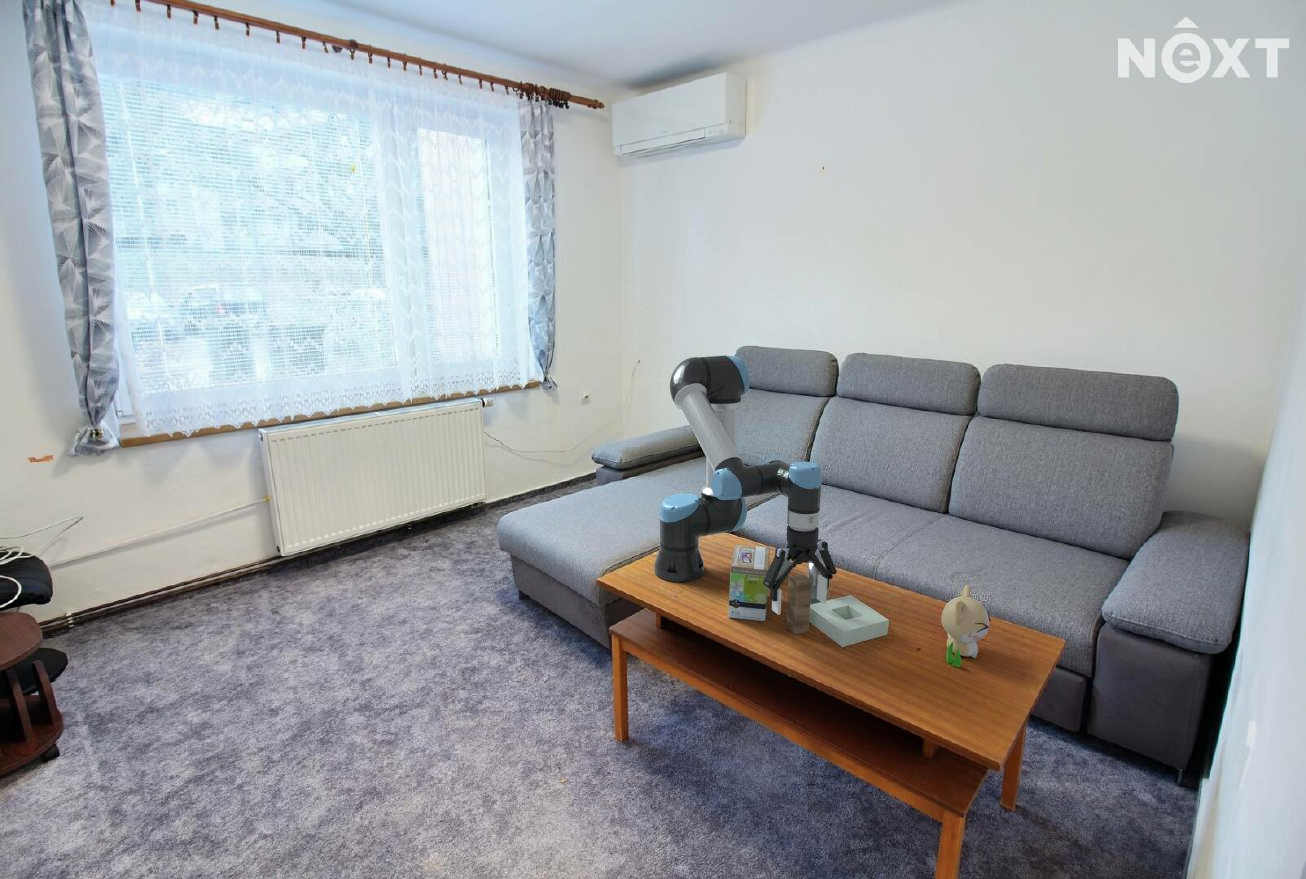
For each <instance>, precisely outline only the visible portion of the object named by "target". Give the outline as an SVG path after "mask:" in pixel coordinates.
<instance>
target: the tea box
mask: <svg viewBox="0 0 1306 879" xmlns="http://www.w3.org/2000/svg"><path fill="white" fill-rule="evenodd" d="M770 551H771V550H770V547H768V546H767V547H766V546H752V545H744V544H743V545H742V544H741V545H740V544H734V547H733V552H732V558H731V564H730V573H729V574H730V575H729V576H730V577H729V598H728V618H731V619H739V620H749V621H758V622H759V621H761V622H765V621H766V617H767V605H768V593H769V588H768V587H766V586H765V585H763V581H764V579H765V577H766V575H767V572H768V570H769V568H770V556H771V555H770Z"/></svg>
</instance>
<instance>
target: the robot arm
mask: <svg viewBox="0 0 1306 879" xmlns="http://www.w3.org/2000/svg"><path fill="white" fill-rule="evenodd" d="M748 369H749V368H748V367H747V365H746V364H745V362H744V360H743V359H742V358H740V357H738V356H736V355H712V356H710V355H709V356H701V357H700V356H694V357H689V358H686V359H684V360H683V361H681V362H680V363H679V364H677V366H676V367H675V368H674V370H673V371H672V374H671V376H670V381H669V392H670V396H671V399H672V402H673V403H674V405H675V407H676V408H677V409H678V410H682V412H683V414H684V417H685V419H686V420H687V422H688V424H689V426H690V428H691V430H692V432H693V434H694V436H695V438H696V439H697V441H698V443H699V445H700V448H701V449H702V451H703V453H704V456H705V457H706V459H705V460H706V461H705V462H706V463H705V464H706V466H705V468H706V470H705V471H706V472H705V475H706V476H705V477H706V478H705V483H706V484H705V485H704V486H703V487H702V488H701V489H700V492H701V493H700V494H701V495H700V497H698V495H696V494H694V493H685V492H683V493H682V492H681V493H676V494H672V495H669V496H668V497H665V498H664V499H663V501H661V504H660V507H659V515H658V516H659V549H658V553H657V554H656V557H655V558H656V559H655V561H654V565H653V567H654V574H655V575H656V576H657V577H658V578H660V579H662V580H666V581H669V582H678V583H681V582H684V583H685V582H691V581H694V580H697V579H700V578H701V577H702V576H703V575H704V572H705V564H704V561H703V557H702V553H701V551H700V549H699V548H700V546H699V539H700V538H701V537H706V536H712V535H719V534H728V533H731V532H735V531H738V530H740V529H741V528H742V527H743V526H744V524H745V523H746V520H747V515H748V505H747V504H746V502H747V501H746V499H745V498H749V497H757V496H763V495H769V494H781V495H782V496H784V497H787V513H786V515H787V516H786V525H787V526H786V542H787V545H786V547H785V548H781V547H780V546H777V547H776V548H775V551H774V557H773V559H772V561H771V564H770V565H769V570H768V572H767V575H766V577H765V579H764V581H763V585H765V586H766V587H768V590H769V599H770V601H771V611H772V612H774V613H776V614H777V615H778V616H779V615H781V613H782V612H781V611H782V589H781V588H780V587H782V584H783V583H784V581H785V580H786V579H787V577H788V576H789V574H790V573H791V571H793V568H796V567H797V566H798V565H801V564H804V563H805V564H808V562H809V561H811V562H812V563H813V565H814V566H815V567H816V568H817V569H818V571H819V572H820V573H821V574H822V576H821V575H818V588H817V599H818V600H819V601H820V602H822V603H823V604H825V603H826V596H827V589H828V588H829V589H830V581H829V579H830V580H832V579H833V578H834V576H833V575H837V573H838V571H837V569H836V566H835V564H834V561H833V559H832V556H831V554H830V551H829V543H828V542H827V541H825V540H823V539H821V538H819V532H820V530H819V526H820V511H821V508H820V507H821V495H822V494H821V493H822V486H823V485H822V484H823V481H822V468H821V466H820V465H819V464H817V463H815V462H809V461H796V462H795V461H794V462H792V463H791V464H789V463H786V462H785V461H783V460H781V459H775V458H768V459H766V460H764V461H763V462H761V463H760V464H756V465H748V466H747V465H745V463H744V462H743V460H742V458H741V457H740V455H739V452H738V451H737V449H736V422H737V421H736V419H737V418H736V415H737V412H736V409H737V407H738V406H739V405H740V404H741V402H742V396H743V395H745V394H746V393H747V392H748V391H749V388H750V383H751V382H750V381H751V380H750V378H751V377H750V373H749V370H748ZM817 551H819V552H818V553H819V556H820V558H822V560H823V562H824V564H825V567H826V568H825V567H824V566H823V564H822V563H821V562H820V561H819V559H818V558H819V557H818V556H817V555H816V552H817Z"/></svg>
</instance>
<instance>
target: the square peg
mask: <svg viewBox="0 0 1306 879" xmlns="http://www.w3.org/2000/svg"><path fill="white" fill-rule="evenodd" d="M787 577H788V578H787V583H788V584H787V597H786V598H787V599H786V600H787V601H786V617H785V618H786V619H785V620H786V621H785V628H786V629H787V630H789V631H790V632H791V633H793V634H794V635H796V636H797V635H799V634H800V635H801V634H804V633H808V632H809V631H810V622H809V618H810V601H811V584H812V580H811V579H809V578H808V576H806V575H805V574H804V573H797V574H793V575H788V576H787Z"/></svg>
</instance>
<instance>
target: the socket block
mask: <svg viewBox="0 0 1306 879" xmlns="http://www.w3.org/2000/svg"><path fill="white" fill-rule="evenodd" d="M889 622H890V619H889V618H887V617H886V616H883V614H880V613H879V612H877V611H876V610H874V609H873V608H871V607H870V606H868V605H866V604H865V603H864V602H862V601H860V600H859V599H858V598H856V597H854V596H853V595H852V594H848V595H844V596H840V597H836V598H832V599H828V600H827V601H826V603H825V604H823V603H822V602H819V603H815V604H811V605H810V618H809V624H811V625H813V626H815V627H816V628H817V629H818V630H819V631H821V633H823V634H824V635H826V636H828V638H829V639H831V640H832V641H833V642H835V643H836V644H838V645H839V646H840V647H841V648H844V647H847V646H851V645H855V644H858V643H861V642H862V643H863V642H865V641H870V640H873V639H876V638H880V637H884V636H888V635H889Z"/></svg>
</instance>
